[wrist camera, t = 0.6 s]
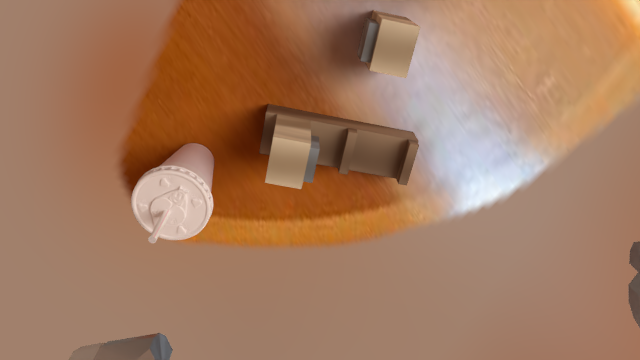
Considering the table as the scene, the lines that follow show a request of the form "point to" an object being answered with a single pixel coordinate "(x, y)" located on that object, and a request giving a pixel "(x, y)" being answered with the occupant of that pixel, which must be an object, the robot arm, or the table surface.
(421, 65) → the table surface
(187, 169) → the smoothie
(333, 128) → the rail
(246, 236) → the table surface
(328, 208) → the table surface
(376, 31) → the grey-banded wooden block
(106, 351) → the robot arm
